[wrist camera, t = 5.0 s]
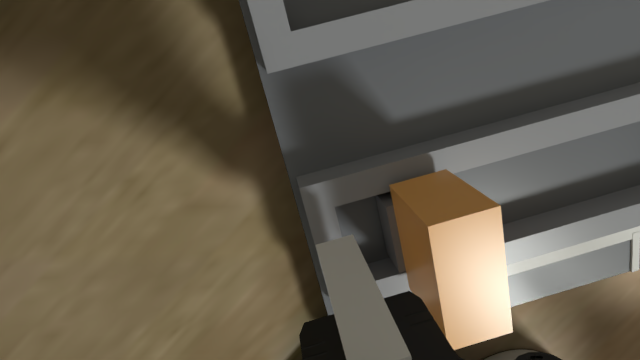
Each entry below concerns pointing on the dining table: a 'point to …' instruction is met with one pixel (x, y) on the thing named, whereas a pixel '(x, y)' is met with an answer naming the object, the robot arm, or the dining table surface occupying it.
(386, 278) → the grey flat slotted tray
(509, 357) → the mug
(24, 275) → the dining table surface
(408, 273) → the block
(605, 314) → the dining table surface
